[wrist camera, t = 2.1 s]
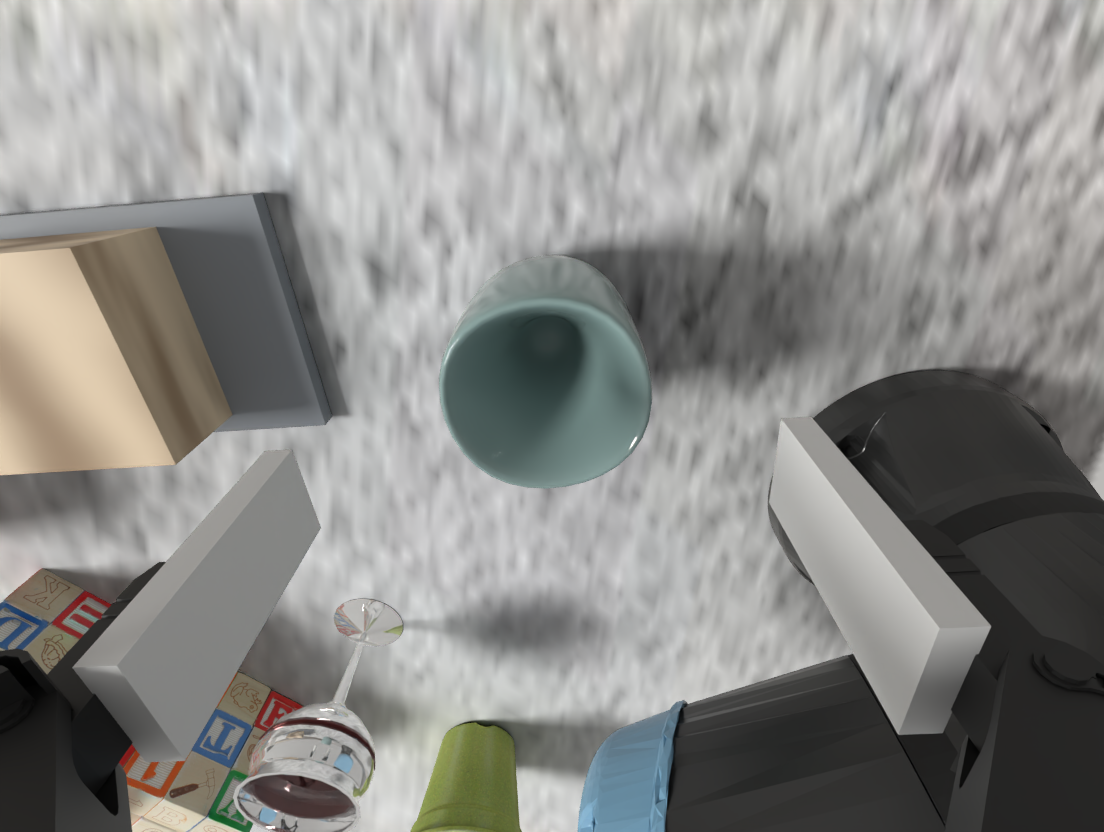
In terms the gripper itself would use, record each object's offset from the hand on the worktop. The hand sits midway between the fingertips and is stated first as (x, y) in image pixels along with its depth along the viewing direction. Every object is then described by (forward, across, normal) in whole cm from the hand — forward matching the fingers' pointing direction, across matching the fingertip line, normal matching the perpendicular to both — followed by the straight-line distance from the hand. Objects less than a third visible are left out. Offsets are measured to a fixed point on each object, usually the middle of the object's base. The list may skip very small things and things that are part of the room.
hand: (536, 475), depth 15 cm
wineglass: (+15, +15, +22) cm, 31 cm away
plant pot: (+15, +9, +37) cm, 41 cm away
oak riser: (+14, +23, -1) cm, 27 cm away
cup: (+15, 0, 0) cm, 15 cm away
